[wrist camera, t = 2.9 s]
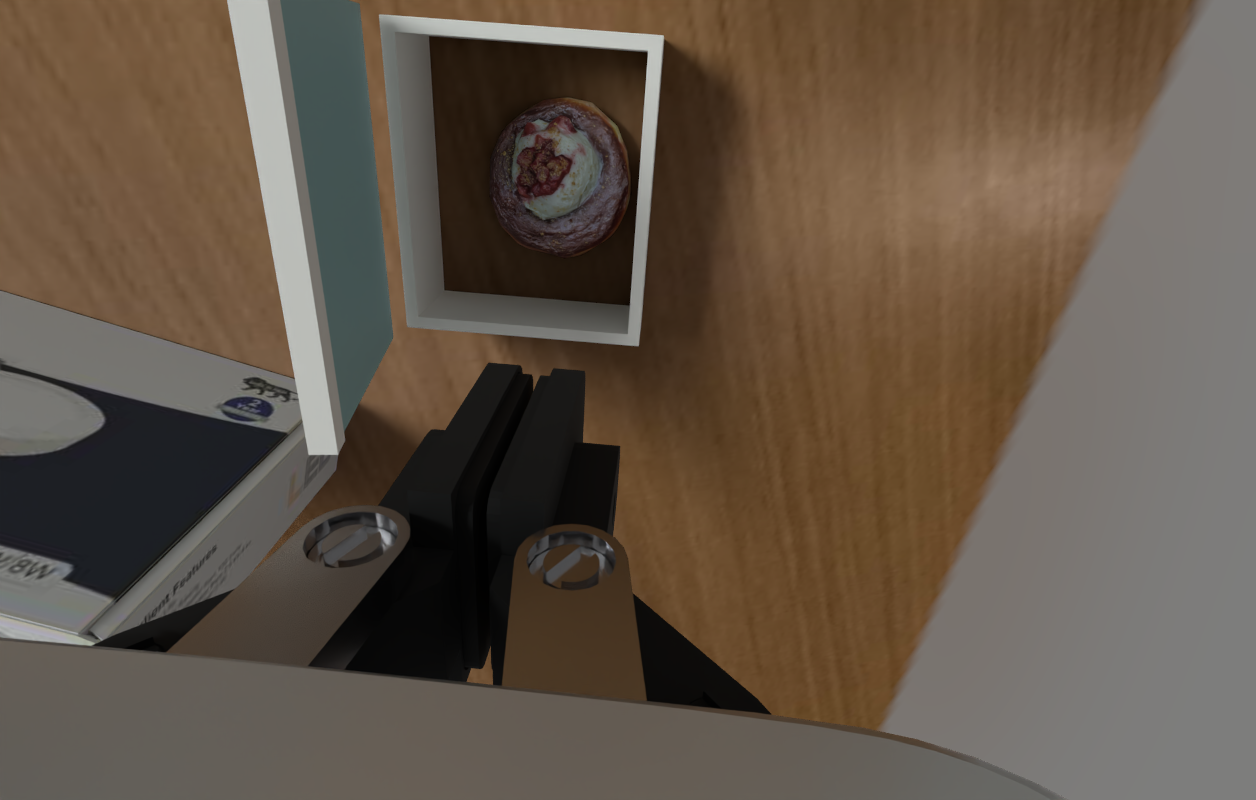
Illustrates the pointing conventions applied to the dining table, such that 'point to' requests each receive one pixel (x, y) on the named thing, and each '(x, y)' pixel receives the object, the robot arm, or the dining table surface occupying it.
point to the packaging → (134, 473)
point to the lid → (318, 198)
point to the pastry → (560, 177)
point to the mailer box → (421, 197)
